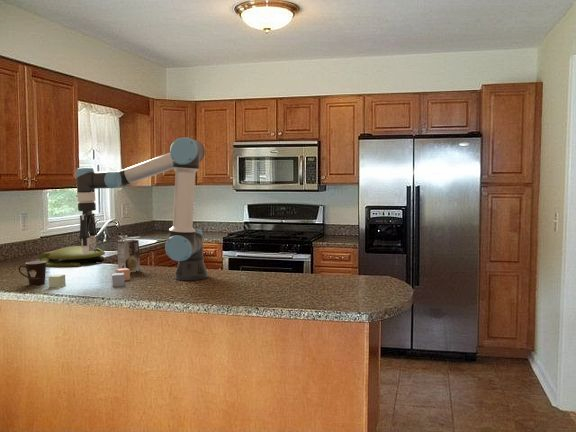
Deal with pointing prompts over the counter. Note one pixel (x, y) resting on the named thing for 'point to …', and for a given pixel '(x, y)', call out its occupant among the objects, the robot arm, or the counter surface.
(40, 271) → the coffee mug
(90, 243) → the game die
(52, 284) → the sage cube
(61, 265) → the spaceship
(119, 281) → the slate cube
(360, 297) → the counter surface
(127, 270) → the terracotta cube
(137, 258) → the coffee box
